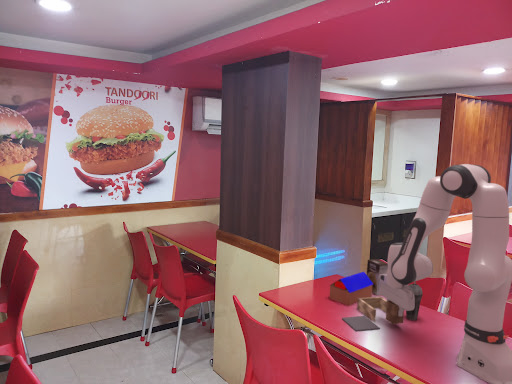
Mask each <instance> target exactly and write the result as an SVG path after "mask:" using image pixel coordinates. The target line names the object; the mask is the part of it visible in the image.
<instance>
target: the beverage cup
mask: <svg viewBox="0 0 512 384" xmlns="http://www.w3.org/2000/svg"><path fill="white" fill-rule="evenodd" d="M416 282H417V281H414V282H413V283H410V284H408V287H410V288H411V289H412V291H413V293H414V297H415V308H414V310H411V311H406V310H405V318H406V319H408V320H410V321H417V320H418V316H419V312H420V306H421V301H422V298H423V289H422V287H421V286H420V285H419V284H417V283H416Z"/></svg>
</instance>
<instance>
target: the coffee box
mask: <svg viewBox="0 0 512 384" xmlns="http://www.w3.org/2000/svg"><path fill="white" fill-rule="evenodd" d="M366 264H367V265H366V266H367V267H366V275H367V276H368V278H369V279H370V280H371V282H372V283H373V286H372V294H373V295H375V296H381V295H380V293H379V282H380V278H379V276H380V274H387V270H388V263H387V262H385V261H383V260H381V259H378V258H377V259H376V258H375V259H374V258H372V259H367V263H366Z"/></svg>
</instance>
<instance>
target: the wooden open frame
mask: <svg viewBox="0 0 512 384" xmlns="http://www.w3.org/2000/svg"><path fill="white" fill-rule="evenodd" d="M356 306H357V307H356V309H357V310H358V311H359V312H360V313H362V314H363V315H364V316H365V317H367V318H368V319H369V320H371V321H372V322H375V321H376V314H377V309H380V310H382V311H383V312H385V313H386V309H387V299H386V298H385V297H383V296H373V297H368V298H358V302H357V303H356Z"/></svg>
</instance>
